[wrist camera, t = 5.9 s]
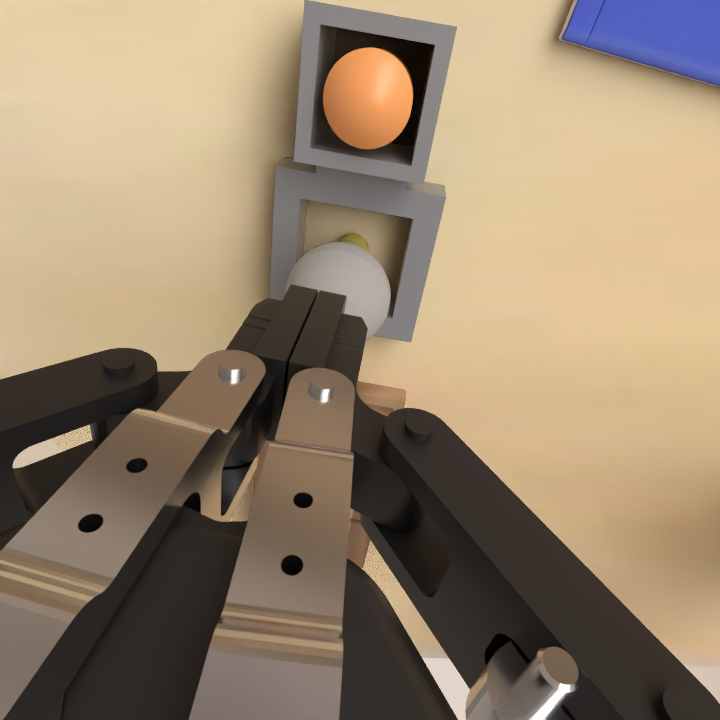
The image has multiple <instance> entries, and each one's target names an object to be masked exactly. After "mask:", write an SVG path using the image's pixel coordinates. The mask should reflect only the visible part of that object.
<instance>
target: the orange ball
mask: <svg viewBox="0 0 720 720" xmlns="http://www.w3.org/2000/svg"><path fill="white" fill-rule="evenodd" d="M412 102H413V82H412V77H411V75H410V72H409V70H408V68H407V66H406V65H405V63H404V62H403V61H402V60H401V58H400V57H398V56H397V55H396V54H395V53H393V52H392V51H390V50H387V49H384V48H381V47H368V48H361V49H357V50H354V51H351V52H349V53H347V54H346V55H344V56H343V57H342V58H340V59H339V60H338V61H337V62H336V63H335V65H334V66H333V67H332V69H331V71H330V72H329V74H328V77H327V79H326V82H325V86H324V92H323V105H324V111H325V115H326V118H327V120H328V123H329V125H330V126H331V128H332V130H333V131H334V132H335V134H336V135H337V136H338V137H339V138H340V139H342V140H343V141H344V142H346V143H347V144H349V145H351V146H353V147H356V148H360V149H375V148H379V147H382V146H385V145H387V144H388V143H390V142H391V141H393V140H394V139H395V138H396V137H397V136H398V135H399V134H400V133H401V132H402V130H403V129H404V127H405V126H406V124H407V122H408V119H409V117H410V113H411V109H412Z"/></svg>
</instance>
